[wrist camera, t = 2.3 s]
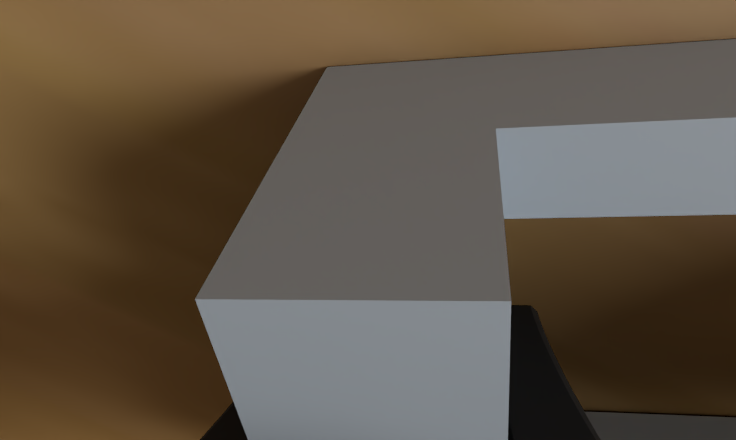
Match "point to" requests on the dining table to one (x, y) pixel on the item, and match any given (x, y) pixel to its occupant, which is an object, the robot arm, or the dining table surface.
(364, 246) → the gray rectangular open frame
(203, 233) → the dining table surface
